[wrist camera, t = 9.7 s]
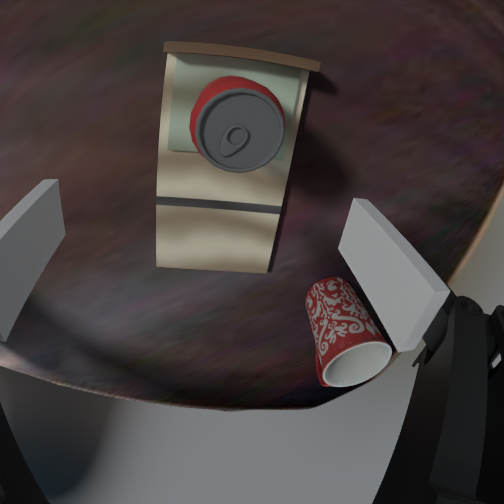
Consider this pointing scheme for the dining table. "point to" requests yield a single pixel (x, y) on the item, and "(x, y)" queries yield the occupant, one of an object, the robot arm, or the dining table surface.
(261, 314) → the dining table surface
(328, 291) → the mug
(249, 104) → the beer can
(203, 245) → the beige green bent panel
